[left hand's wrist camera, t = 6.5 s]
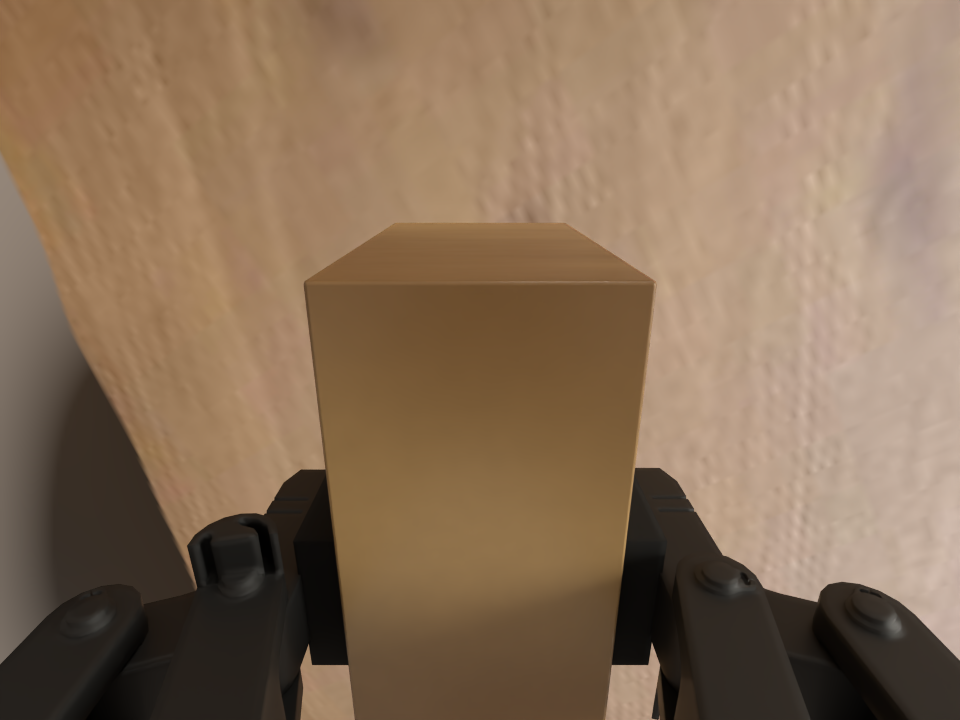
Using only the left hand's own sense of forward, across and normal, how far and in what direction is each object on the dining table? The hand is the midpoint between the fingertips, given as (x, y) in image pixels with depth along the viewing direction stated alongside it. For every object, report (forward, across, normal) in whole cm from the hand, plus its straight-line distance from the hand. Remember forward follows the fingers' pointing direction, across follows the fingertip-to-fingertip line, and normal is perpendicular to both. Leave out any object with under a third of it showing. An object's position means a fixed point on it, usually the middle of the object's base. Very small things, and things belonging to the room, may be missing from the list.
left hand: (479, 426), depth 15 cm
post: (0, 0, -21) cm, 21 cm away
